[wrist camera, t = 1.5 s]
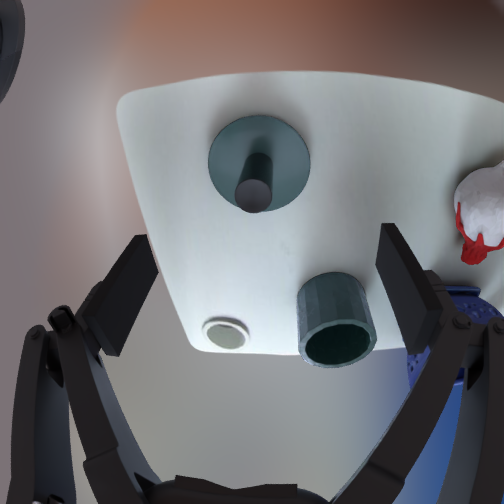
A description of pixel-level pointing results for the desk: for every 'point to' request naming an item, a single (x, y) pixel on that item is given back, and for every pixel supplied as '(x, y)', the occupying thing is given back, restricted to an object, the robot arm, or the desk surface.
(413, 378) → the flower pot
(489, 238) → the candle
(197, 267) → the desk surface
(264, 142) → the lid
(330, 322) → the pot
